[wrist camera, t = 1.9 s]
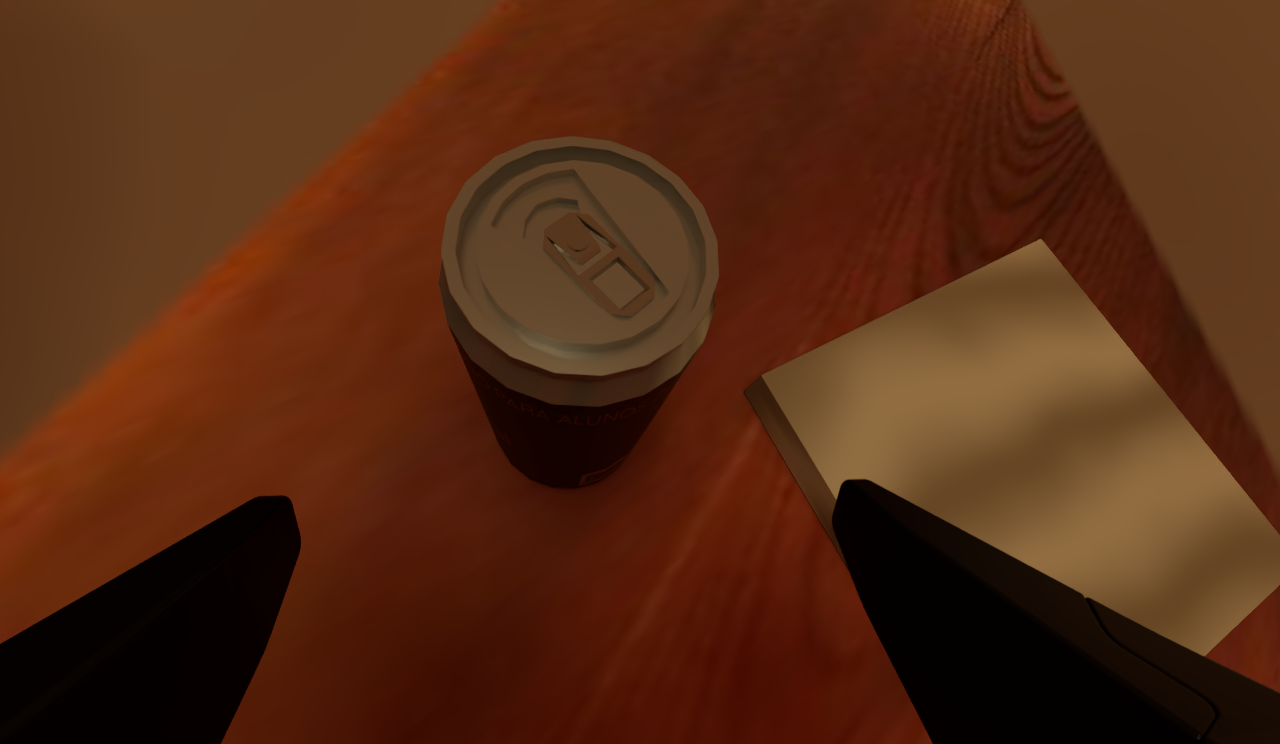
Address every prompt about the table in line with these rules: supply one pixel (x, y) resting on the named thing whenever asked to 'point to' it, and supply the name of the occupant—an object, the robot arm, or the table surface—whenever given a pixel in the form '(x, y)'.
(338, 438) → the table surface
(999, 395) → the serving board
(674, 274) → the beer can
